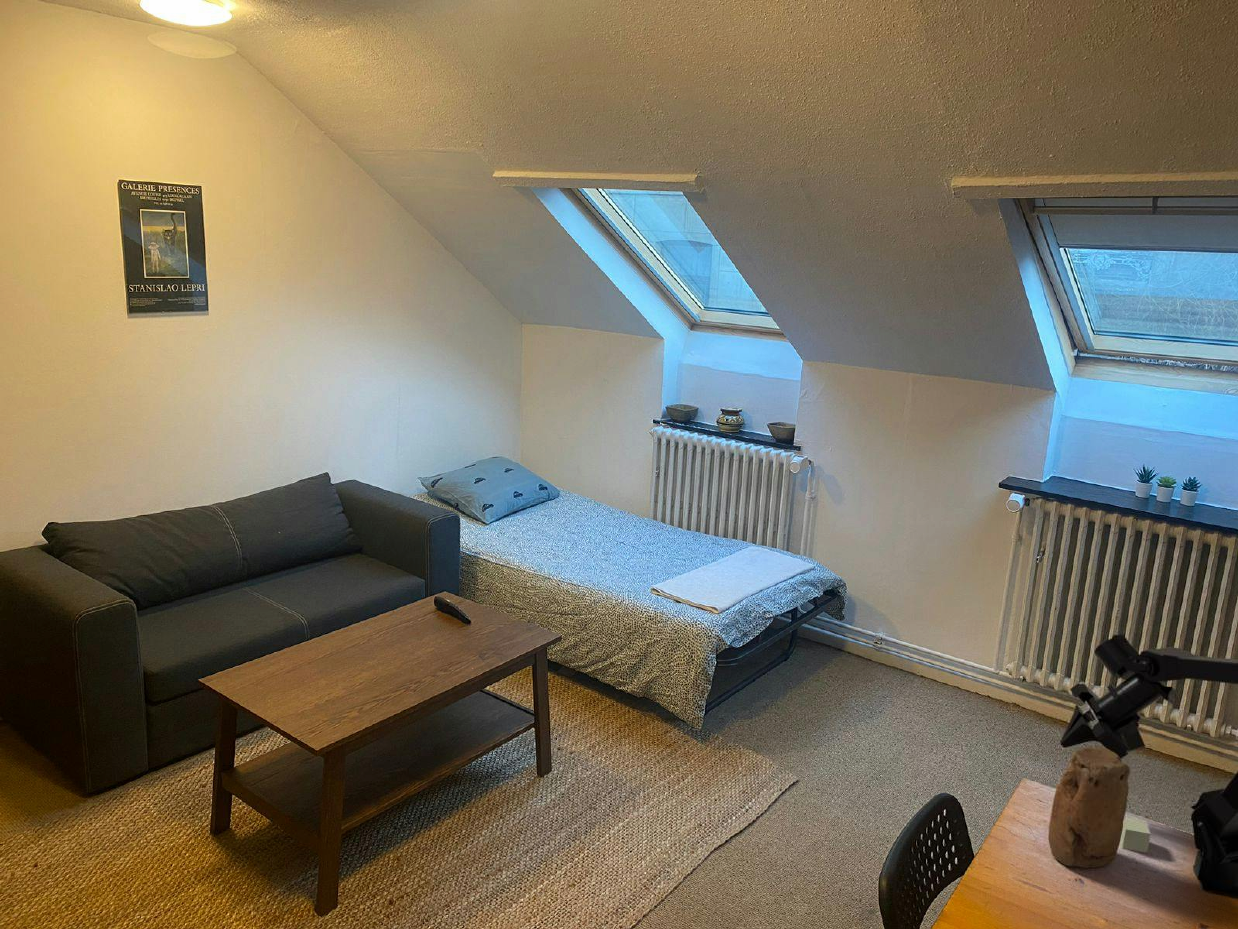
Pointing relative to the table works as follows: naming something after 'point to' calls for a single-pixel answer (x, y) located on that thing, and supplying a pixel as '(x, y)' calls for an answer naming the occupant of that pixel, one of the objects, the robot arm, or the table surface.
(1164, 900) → the table surface
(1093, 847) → the brown stone
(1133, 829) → the sage cube
